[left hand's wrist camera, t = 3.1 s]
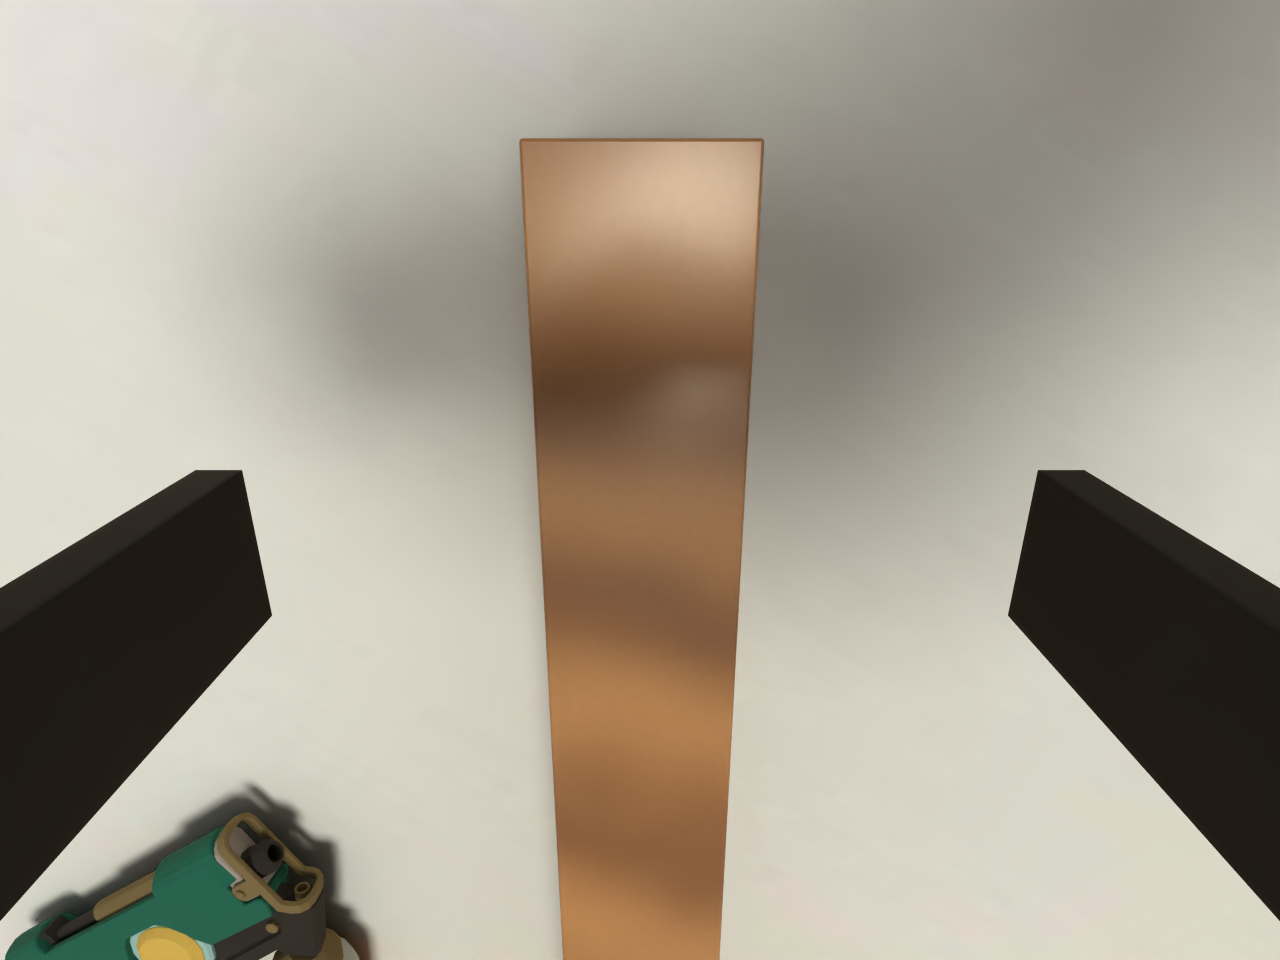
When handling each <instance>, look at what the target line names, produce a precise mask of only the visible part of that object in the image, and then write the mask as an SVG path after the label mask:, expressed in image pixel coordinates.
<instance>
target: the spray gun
mask: <svg viewBox="0 0 1280 960" xmlns="http://www.w3.org/2000/svg"><path fill="white" fill-rule="evenodd" d="M239 822H244V823H246V824H247V825H248V826H249V827H250V828H251V829H252V830H253V831H254V832H255V833H256V834H257V835H258V836H259V837H260V838H261V839H262V841H260V842H258V843H256V844H255V843H254V841H253V840H252V839H251V838H250V837H249V836H248V835H247V834H246V833H245V832H244V831H243V830H242V829H241V828H239V827H236V826H237V825H238V824H239ZM282 861H284V862H285V863H286V864H287V865H288V866H289V867H290V868H291V869H292V870H293V871H294V872H295V873H296V874H297V875H299V876H305V877H311V878H313V879H315V880H316V882H315V884H314V886H310V884H309V883H308V882H301V883H299V884H295V885H292V886H289V885H287V877H288V866H287V865H286V864H285V863H282ZM323 884H324V879H323V874H322V872H321V870H320V869H317V868H315V867H310V866H304V865H303V864H302V863H301V861H300V860H299V859H298V858H297V857H296V856H295V855H294V854H293V853H292V852H291V851H290V850H289V849H288V848H287V847H286V846H285V845H284V844H283V843H282V842H281V841H280V840H279V839H278V838H277V837H276V836H275V835H274V834H273V833H272V832H271V831H270V830H269V829H268V828H267V827H266V826H265V825H264V824H263V823H262V822H261V821H260V820H259V819H258V818H257V817H256V816H255V815H253V814H252V813H250V812H246V813H241V814H239V815H237V816H235V817H234V818H232V819H231V820H230V821H229V822H228V823H227V824H226V825H224V826H222V827H220V828H218V829H216V830H214V831H212V832H210V833H208V834H206V835H205V836H203V837H201V838H199V839H197V840H195V841H194V842H192V843H190V844H188V845H186V846H184V847H182V848H181V849H179V850H177V851H175V852H173V853H171V854H169V855H168V856H166V857H165V858H163V859H162V860H161V861H160V863H159V865H158V866H157V869H156V871H154V872H152V873H150V874H148V875H146V876H144V877H142V878H141V879H139V880H137V881H135V882H133V883H131V884H129V885H128V886H126V887H124V888H122V889H120V890H118V891H116V892H114V893H113V894H111V895H109V896H107V897H105V898H103V899H101V900H100V901H99V902H97V903H96V905H95V907H94V909H92V910H90V911H89V912H87V913H85V914H83V915H81V916H79V917H76V916H75V915H72V914H69V913H61V914H57V915H55V916H53V917H51V918H49V919H47V920H46V921H44V922H42V923H40V924H38V925H36V926H34V927H33V928H31V929H29V930H27V931H26V932H24V933H23V934H21V935H20V936H19V937H18V938H16V939H15V941H14V942H13V943H12V945H11V946H10V948H9V950H8V951H7V953H6V956H5V960H259V959H261V958H263V957H265V956H266V955H268V954H270V953H272V952H274V951H276V950H277V951H276V953H275V955H274V958H273V960H359V956H358V955H357V953H356V952H355V950H354V948H353V947H352V946H351V945H350V944H349V943H348V942H347V941H346V940H345V939H344V938H342V937H339V936H338V934H337V933H336V932H335V931H334V930H331V929H328V928H326V914H325V888H324V887H323Z"/></svg>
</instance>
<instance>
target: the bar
mask: <svg viewBox="0 0 1280 960" xmlns="http://www.w3.org/2000/svg"><path fill="white" fill-rule="evenodd" d="M519 146H520V165H521V184H522V202H523V221H524V239H525V258H526V277H527V295H528V314H529V332H530V351H531V369H532V388H533V407H534V425H535V444H536V462H537V481H538V500H539V518H540V537H541V555H542V574H543V593H544V611H545V630H546V648H547V667H548V686H549V704H550V723H551V741H552V760H553V778H554V797H555V816H556V834H557V853H558V871H559V890H560V909H561V927H562V946H563V960H719V957H720V939H721V921H722V902H723V884H724V866H725V848H726V829H727V811H728V793H729V774H730V756H731V738H732V720H733V701H734V683H735V665H736V647H737V628H738V610H739V592H740V574H741V555H742V537H743V519H744V501H745V482H746V464H747V446H748V428H749V409H750V391H751V373H752V355H753V336H754V318H755V300H756V282H757V263H758V245H759V227H760V208H761V190H762V172H763V154H764V140H763V139H761V138H522V139H520V141H519Z"/></svg>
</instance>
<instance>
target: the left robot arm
mask: <svg viewBox="0 0 1280 960" xmlns="http://www.w3.org/2000/svg"><path fill="white" fill-rule="evenodd" d="M271 616H272V613H271V608H270V603H269V599H268V594H267V589H266V584H265V579H264V574H263V570H262V565H261V560H260V555H259V550H258V545H257V540H256V536H255V531H254V526H253V521H252V516H251V511H250V507H249V502H248V497H247V492H246V487H245V482H244V478H243V473H242V470H195V471H194V472H192V473H190V474H189V475H187V476H185V477H184V478H182V479H180V480H179V481H177V482H175V483H174V484H172V485H170V486H169V487H167V488H165V489H164V490H162V491H160V492H159V493H157V494H155V495H154V496H152V497H150V498H149V499H147V500H145V501H144V502H142V503H141V504H139V505H137V506H136V507H134V508H132V509H131V510H129V511H127V512H126V513H124V514H122V515H121V516H119V517H117V518H116V519H114V520H112V521H111V522H109V523H107V524H106V525H104V526H102V527H101V528H99V529H97V530H96V531H94V532H93V533H91V534H89V535H88V536H86V537H84V538H83V539H81V540H79V541H78V542H76V543H74V544H73V545H71V546H69V547H68V548H66V549H64V550H63V551H61V552H59V553H58V554H56V555H54V556H53V557H51V558H49V559H48V560H46V561H44V562H43V563H41V564H40V565H38V566H36V567H35V568H33V569H31V570H30V571H28V572H26V573H25V574H23V575H21V576H20V577H18V578H16V579H15V580H13V581H11V582H10V583H8V584H6V585H5V586H3V587H1V588H0V921H1V919H2V918H3V917H4V916H5V915H6V914H7V913H8V912H9V910H10V909H11V908H12V907H13V906H14V905H15V904H16V903H17V902H18V900H19V899H20V898H21V897H22V896H23V895H24V894H25V893H26V891H27V890H28V889H29V888H30V887H31V886H32V885H33V884H34V882H35V881H36V880H37V879H38V878H39V877H40V876H41V875H42V873H43V872H44V871H45V870H46V869H47V868H48V867H49V866H50V864H51V863H52V862H53V861H54V860H55V859H56V858H57V857H58V855H59V854H60V853H61V852H62V851H63V850H64V849H65V848H66V846H67V845H68V844H69V843H70V842H71V841H72V840H73V839H74V837H75V836H76V835H77V834H78V833H79V832H80V831H81V830H82V828H83V827H84V826H85V825H86V824H87V823H88V822H89V821H90V819H91V818H92V817H93V816H94V815H95V814H96V813H97V812H98V810H99V809H100V808H101V807H102V806H103V805H104V804H105V803H106V801H107V800H108V799H109V798H110V797H111V796H112V795H113V794H114V792H115V791H116V790H117V789H118V788H119V787H120V786H121V785H122V783H123V782H124V781H125V780H126V779H127V778H128V777H129V776H130V775H131V773H132V772H133V771H134V770H135V769H136V768H137V767H138V766H139V764H140V763H141V762H142V761H143V760H144V759H145V758H146V757H147V755H148V754H149V753H150V752H151V751H152V750H153V749H154V748H155V746H156V745H157V744H158V743H159V742H160V741H161V740H162V739H163V737H164V736H165V735H166V734H167V733H168V732H169V731H170V730H171V728H172V727H173V726H174V725H175V724H176V723H177V722H178V721H179V719H180V718H181V717H182V716H183V715H184V714H185V713H186V712H187V710H188V709H189V708H190V707H191V706H192V705H193V704H194V703H195V701H196V700H197V699H198V698H199V697H200V696H201V695H202V694H203V692H204V691H205V690H206V689H207V688H208V687H209V686H210V685H211V683H212V682H213V681H214V680H215V679H216V678H217V677H218V676H219V674H220V673H221V672H222V671H223V670H224V669H225V668H226V667H227V665H228V664H229V663H230V662H231V661H232V660H233V659H234V658H235V657H236V655H237V654H238V653H239V652H240V651H241V650H242V649H243V648H244V646H245V645H246V644H247V643H248V642H249V641H250V640H251V639H252V637H253V636H254V635H255V634H256V633H257V632H258V631H259V630H260V628H261V627H262V626H263V625H264V624H265V623H266V622H267V621H268V619H269V618H270V617H271ZM1008 616H1009V617H1010V618H1011V619H1012V621H1013V622H1014V623H1015V624H1016V625H1017V626H1018V627H1019V628H1020V630H1021V631H1022V632H1023V633H1024V634H1025V635H1026V636H1027V637H1028V639H1029V640H1030V641H1031V642H1032V643H1033V644H1034V645H1035V646H1036V648H1037V649H1038V650H1039V651H1040V652H1041V653H1042V654H1043V655H1044V657H1045V658H1046V659H1047V660H1048V661H1049V662H1050V663H1051V664H1052V665H1053V667H1054V668H1055V669H1056V670H1057V671H1058V672H1059V673H1060V674H1061V676H1062V677H1063V678H1064V679H1065V680H1066V681H1067V682H1068V683H1069V685H1070V686H1071V687H1072V688H1073V689H1074V690H1075V691H1076V692H1077V694H1078V695H1079V696H1080V697H1081V698H1082V699H1083V700H1084V701H1085V703H1086V704H1087V705H1088V706H1089V707H1090V708H1091V709H1092V710H1093V712H1094V713H1095V714H1096V715H1097V716H1098V717H1099V718H1100V719H1101V721H1102V722H1103V723H1104V724H1105V725H1106V726H1107V727H1108V728H1109V730H1110V731H1111V732H1112V733H1113V734H1114V735H1115V736H1116V737H1117V739H1118V740H1119V741H1120V742H1121V743H1122V744H1123V745H1124V746H1125V748H1126V749H1127V750H1128V751H1129V752H1130V753H1131V754H1132V755H1133V757H1134V758H1135V759H1136V760H1137V761H1138V762H1139V763H1140V764H1141V766H1142V767H1143V768H1144V769H1145V770H1146V771H1147V772H1148V773H1149V775H1150V776H1151V777H1152V778H1153V779H1154V780H1155V781H1156V782H1157V784H1158V785H1159V786H1160V787H1161V788H1162V789H1163V790H1164V791H1165V792H1166V794H1167V795H1168V796H1169V797H1170V798H1171V799H1172V800H1173V801H1174V803H1175V804H1176V805H1177V806H1178V807H1179V808H1180V809H1181V810H1182V812H1183V813H1184V814H1185V815H1186V816H1187V817H1188V818H1189V819H1190V821H1191V822H1192V823H1193V824H1194V825H1195V826H1196V827H1197V828H1198V830H1199V831H1200V832H1201V833H1202V834H1203V835H1204V836H1205V837H1206V839H1207V840H1208V841H1209V842H1210V843H1211V844H1212V845H1213V846H1214V848H1215V849H1216V850H1217V851H1218V852H1219V853H1220V854H1221V855H1222V857H1223V858H1224V859H1225V860H1226V861H1227V862H1228V863H1229V864H1230V866H1231V867H1232V868H1233V869H1234V870H1235V871H1236V872H1237V873H1238V875H1239V876H1240V877H1241V878H1242V879H1243V880H1244V881H1245V882H1246V884H1247V885H1248V886H1249V887H1250V888H1251V889H1252V890H1253V891H1254V893H1255V894H1256V895H1257V896H1258V897H1259V898H1260V899H1261V900H1262V902H1263V903H1264V904H1265V905H1266V906H1267V907H1268V908H1269V909H1270V910H1271V912H1272V913H1273V914H1274V915H1275V916H1276V917H1277V918H1278V919H1279V921H1280V588H1279V587H1277V586H1275V585H1274V584H1272V583H1270V582H1269V581H1267V580H1265V579H1264V578H1262V577H1260V576H1259V575H1257V574H1255V573H1254V572H1252V571H1250V570H1249V569H1247V568H1245V567H1244V566H1242V565H1240V564H1239V563H1237V562H1236V561H1234V560H1232V559H1231V558H1229V557H1227V556H1226V555H1224V554H1222V553H1221V552H1219V551H1217V550H1216V549H1214V548H1212V547H1211V546H1209V545H1207V544H1206V543H1204V542H1202V541H1201V540H1199V539H1197V538H1196V537H1194V536H1192V535H1191V534H1189V533H1187V532H1186V531H1184V530H1183V529H1181V528H1179V527H1178V526H1176V525H1174V524H1173V523H1171V522H1169V521H1168V520H1166V519H1164V518H1163V517H1161V516H1159V515H1158V514H1156V513H1154V512H1153V511H1151V510H1149V509H1148V508H1146V507H1144V506H1143V505H1141V504H1139V503H1138V502H1136V501H1135V500H1133V499H1131V498H1130V497H1128V496H1126V495H1125V494H1123V493H1121V492H1120V491H1118V490H1116V489H1115V488H1113V487H1111V486H1110V485H1108V484H1106V483H1105V482H1103V481H1101V480H1100V479H1098V478H1096V477H1095V476H1093V475H1091V474H1090V473H1088V472H1086V471H1085V470H1038V473H1037V478H1036V482H1035V487H1034V492H1033V497H1032V502H1031V507H1030V511H1029V516H1028V521H1027V526H1026V531H1025V536H1024V540H1023V545H1022V550H1021V555H1020V560H1019V565H1018V570H1017V574H1016V579H1015V584H1014V589H1013V594H1012V599H1011V603H1010V608H1009V613H1008Z"/></svg>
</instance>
